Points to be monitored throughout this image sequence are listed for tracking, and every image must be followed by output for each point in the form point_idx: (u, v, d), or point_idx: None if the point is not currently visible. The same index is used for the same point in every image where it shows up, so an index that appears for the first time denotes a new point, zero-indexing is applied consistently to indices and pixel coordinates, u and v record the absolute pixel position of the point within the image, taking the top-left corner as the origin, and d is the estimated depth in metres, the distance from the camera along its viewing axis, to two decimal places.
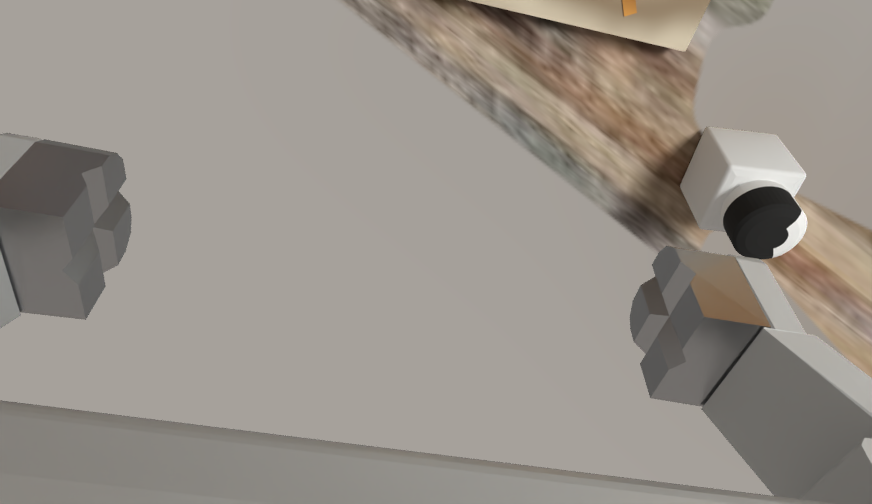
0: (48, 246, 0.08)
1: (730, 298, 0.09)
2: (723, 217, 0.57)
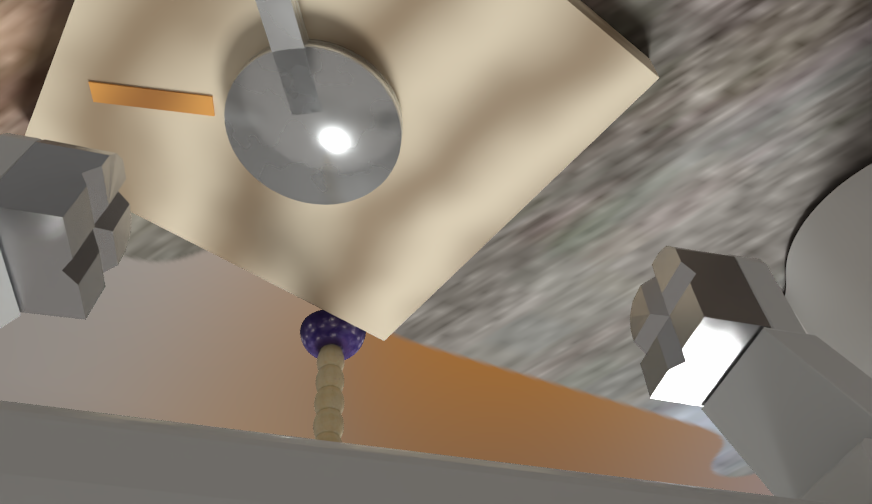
0: (48, 246, 0.08)
1: (730, 298, 0.09)
2: None
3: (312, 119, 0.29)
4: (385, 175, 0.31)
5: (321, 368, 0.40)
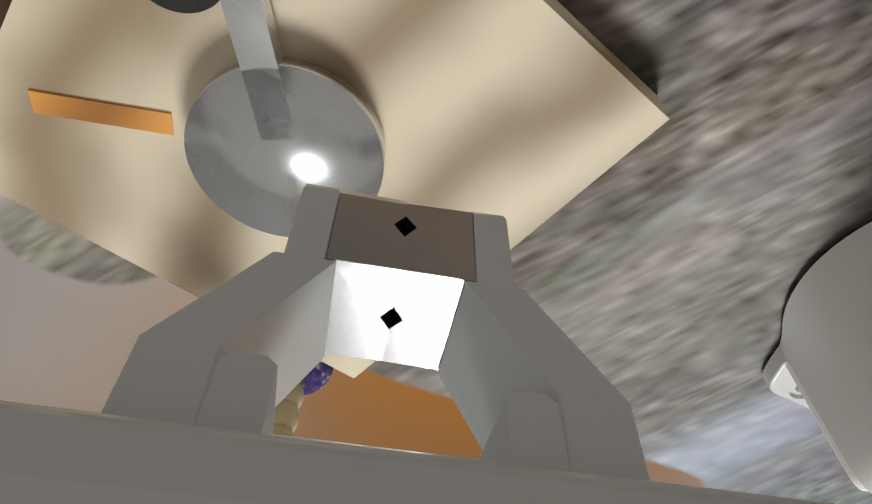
0: (376, 295, 0.08)
1: (442, 253, 0.08)
2: None
3: (284, 146, 0.26)
4: None
5: None
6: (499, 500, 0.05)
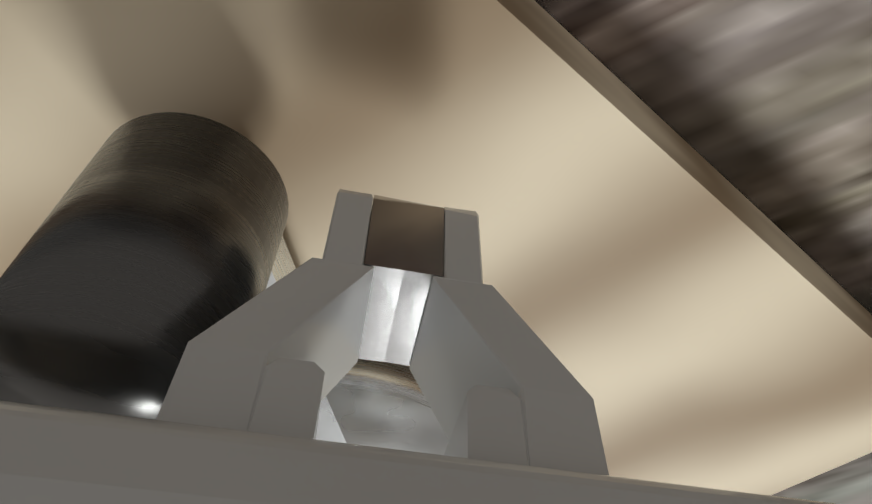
0: (412, 301, 0.08)
1: (412, 248, 0.08)
2: None
3: None
4: None
5: None
6: (499, 500, 0.05)
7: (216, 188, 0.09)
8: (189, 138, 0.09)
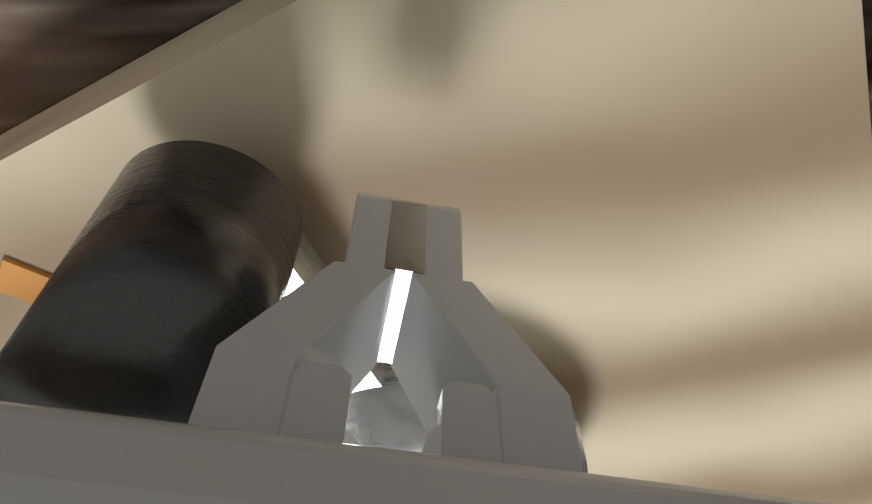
0: None
1: (392, 244, 0.08)
2: None
3: None
4: None
5: None
6: (499, 500, 0.05)
7: (210, 205, 0.09)
8: (181, 163, 0.09)
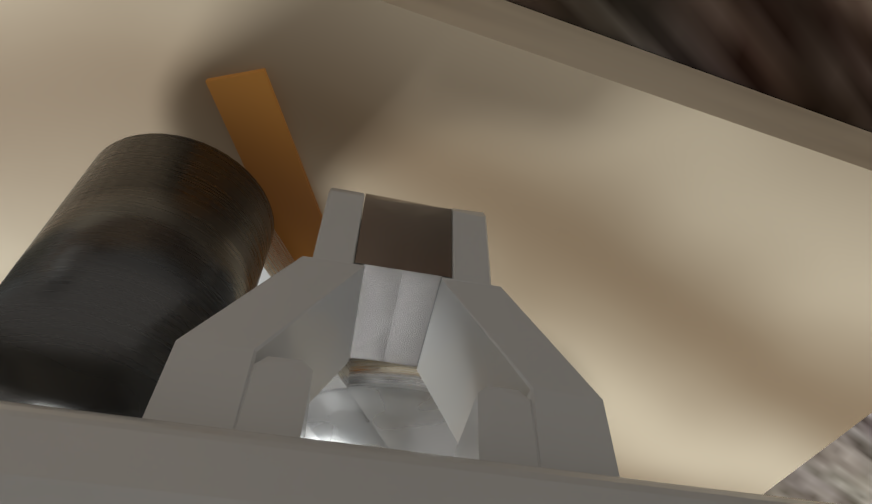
0: (403, 299, 0.08)
1: (420, 249, 0.08)
2: None
3: None
4: None
5: None
6: (499, 500, 0.05)
7: (182, 201, 0.09)
8: (155, 157, 0.09)
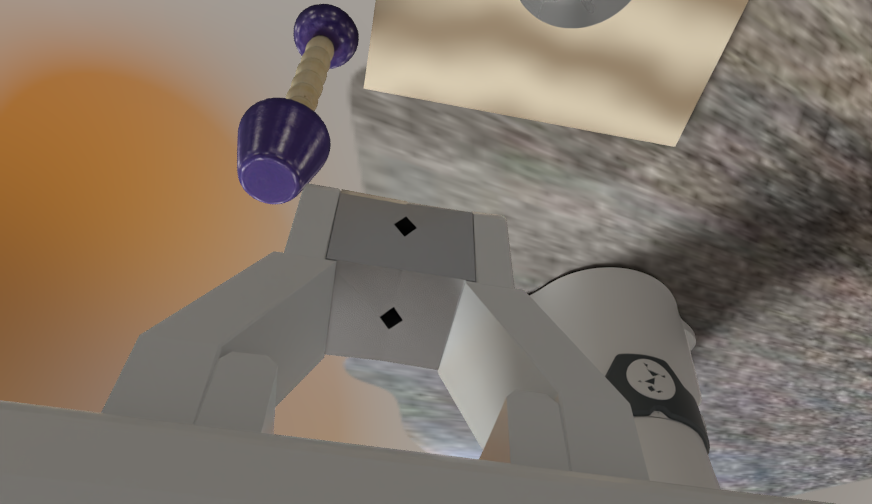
0: (376, 295, 0.08)
1: (442, 253, 0.08)
2: None
3: None
4: None
5: (320, 47, 0.40)
6: (499, 500, 0.05)
7: None
8: None
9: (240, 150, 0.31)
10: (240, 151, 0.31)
